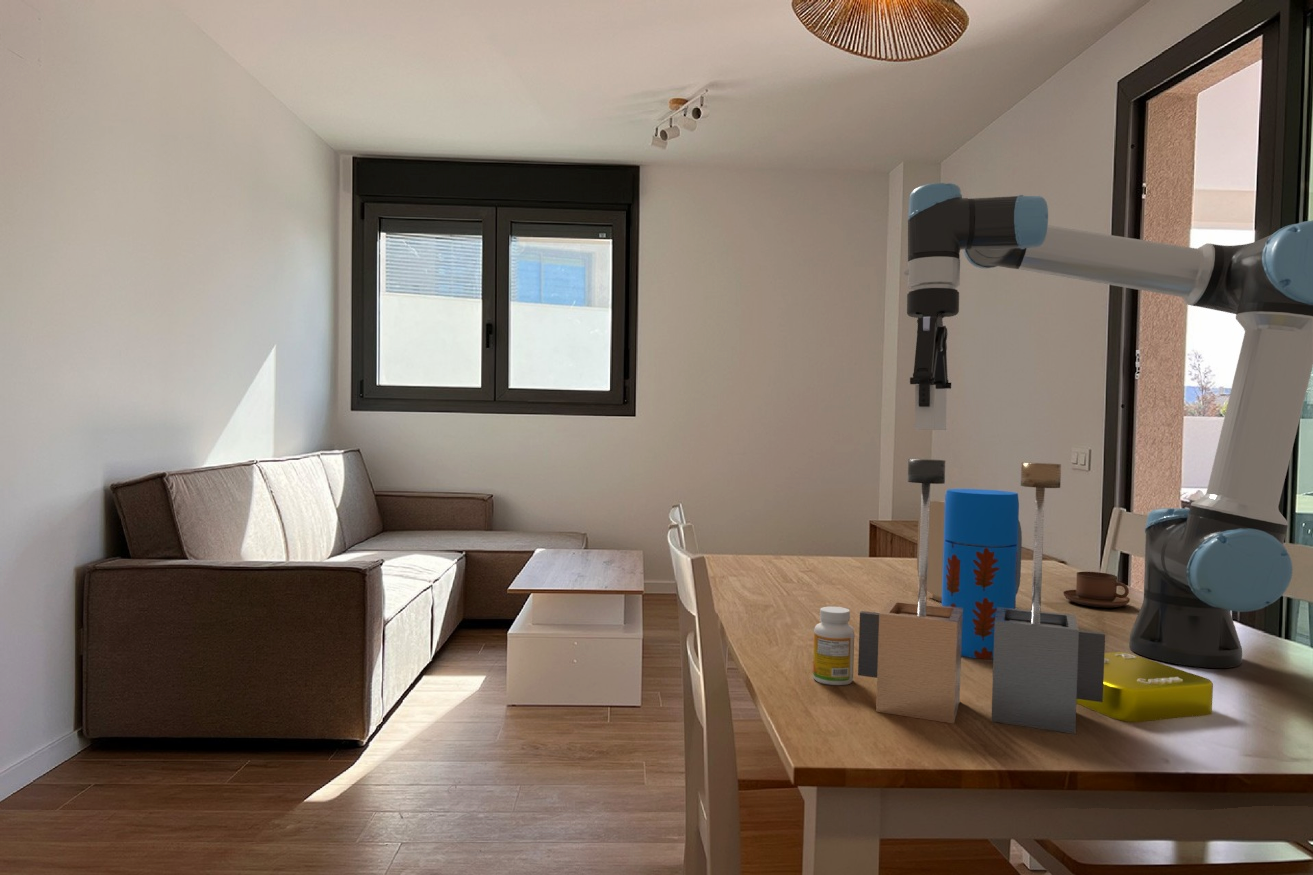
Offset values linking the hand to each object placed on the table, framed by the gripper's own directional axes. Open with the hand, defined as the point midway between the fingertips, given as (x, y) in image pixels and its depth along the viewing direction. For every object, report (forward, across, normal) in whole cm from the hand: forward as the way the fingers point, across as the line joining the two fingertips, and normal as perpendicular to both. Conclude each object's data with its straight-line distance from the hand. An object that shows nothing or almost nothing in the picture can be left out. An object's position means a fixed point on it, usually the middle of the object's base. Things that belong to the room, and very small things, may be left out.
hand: (931, 430), depth 131 cm
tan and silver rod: (+25, +22, +15) cm, 36 cm away
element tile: (+35, +8, +26) cm, 45 cm away
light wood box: (+34, +25, +1) cm, 43 cm away
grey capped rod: (+24, +25, +2) cm, 35 cm away
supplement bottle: (+34, +20, -10) cm, 41 cm away
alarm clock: (+35, -45, +1) cm, 57 cm away
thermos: (+35, -8, +6) cm, 36 cm away
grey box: (+35, +22, +17) cm, 44 cm away
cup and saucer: (+36, -60, +25) cm, 74 cm away
